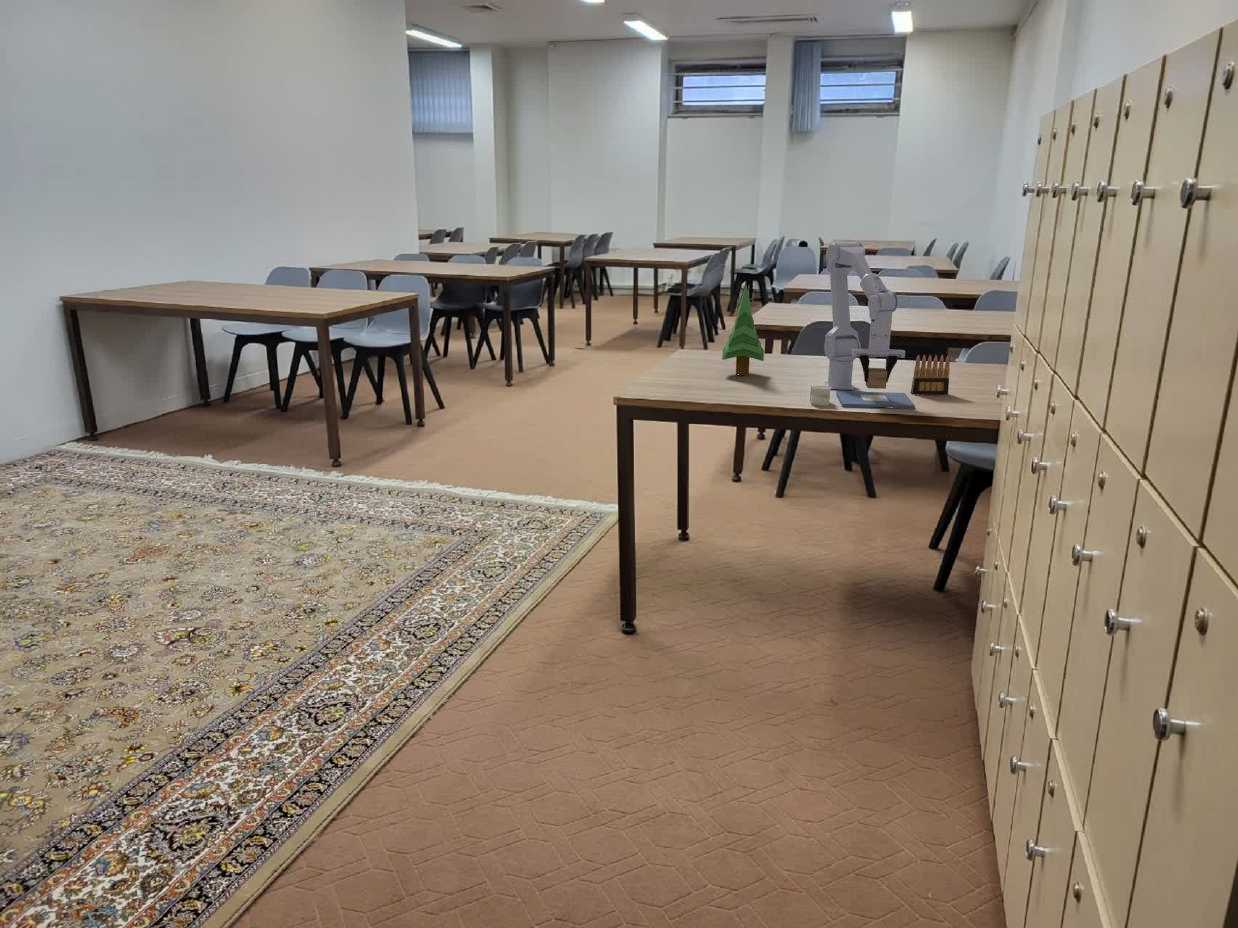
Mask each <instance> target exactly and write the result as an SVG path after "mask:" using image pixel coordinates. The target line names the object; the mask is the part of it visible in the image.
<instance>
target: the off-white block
mask: <svg viewBox="0 0 1238 928" xmlns="http://www.w3.org/2000/svg"><path fill="white" fill-rule="evenodd" d="M809 395H810V397H809V403H810V405H811V406H830V399H831V398H830V397H831V389H830V387H829V385H826V384H810V394H809Z"/></svg>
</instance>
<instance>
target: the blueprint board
mask: <svg viewBox="0 0 1238 928" xmlns="http://www.w3.org/2000/svg"><path fill="white" fill-rule="evenodd" d="M835 394H836V397H837V399H838V401H839V403H840V406H841V407H842V408H860V407H893V408H892V409H895V408H910V409H909V410H915V409H916V405H915V403H914V402H913V401H912V400H911V399H910V398H909V397H908V394H906V393H905V392H887V391H886V392H884V391H882V392H881V391H879V392H878V391H851V390H848V391H847V390H846V391H845V390H841V391H840V390H836V392H835Z"/></svg>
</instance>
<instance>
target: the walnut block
mask: <svg viewBox="0 0 1238 928" xmlns="http://www.w3.org/2000/svg"><path fill="white" fill-rule="evenodd" d="M886 381H887V371H886V367H884V368H883V367H869V369H868V382H865V386H866V388H867V389H876V390H877V389H879V390H880V389H881V390H884V389H885V390H886V389H887V383H886Z"/></svg>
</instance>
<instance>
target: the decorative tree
mask: <svg viewBox="0 0 1238 928" xmlns="http://www.w3.org/2000/svg"><path fill="white" fill-rule="evenodd" d="M739 302H740V303H739V307H738V311H737V315H736V318H735V320H734V325H733V327H732V329H731V333H730V334H729V335H728V340H727V341H726V342H725V346H724V347H723V348H722V355H721V356H722V357H721V360H722V361H724V360H728V359H733V358H735V360H736V361H735V375H736V374H739V375H750V359H754V360H758V361H762V362H764V361H765V356H764V355H765V349H764V348H763V347H762V342H761V341H760V336H759V335H758V333H757V329H756V326H755V321H754V318H753V317H754V316H753V315H752V311H753V310H752V306H751V301H750V295H749V291H748V286H747V284H745V285H744V290H743V292H742V296H741V299H740V301H739Z"/></svg>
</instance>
